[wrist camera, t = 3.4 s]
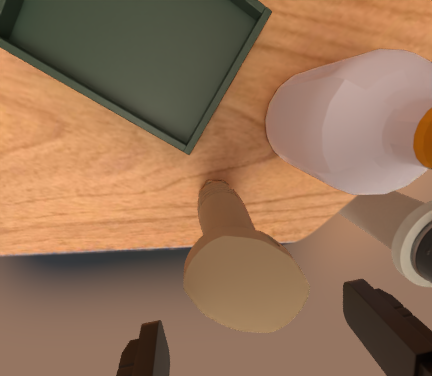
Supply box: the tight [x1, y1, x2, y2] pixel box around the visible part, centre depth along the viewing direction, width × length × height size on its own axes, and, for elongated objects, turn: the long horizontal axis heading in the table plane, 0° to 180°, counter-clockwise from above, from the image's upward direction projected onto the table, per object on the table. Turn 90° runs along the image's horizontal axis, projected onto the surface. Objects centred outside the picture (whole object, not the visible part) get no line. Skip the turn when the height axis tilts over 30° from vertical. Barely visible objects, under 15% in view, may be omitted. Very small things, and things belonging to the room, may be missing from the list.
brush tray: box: [0, 0, 272, 155], centre depth 21 cm, size 17×13×2 cm
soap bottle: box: [265, 49, 432, 195], centre depth 14 cm, size 9×9×25 cm
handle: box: [184, 180, 310, 333], centre depth 20 cm, size 5×6×15 cm
